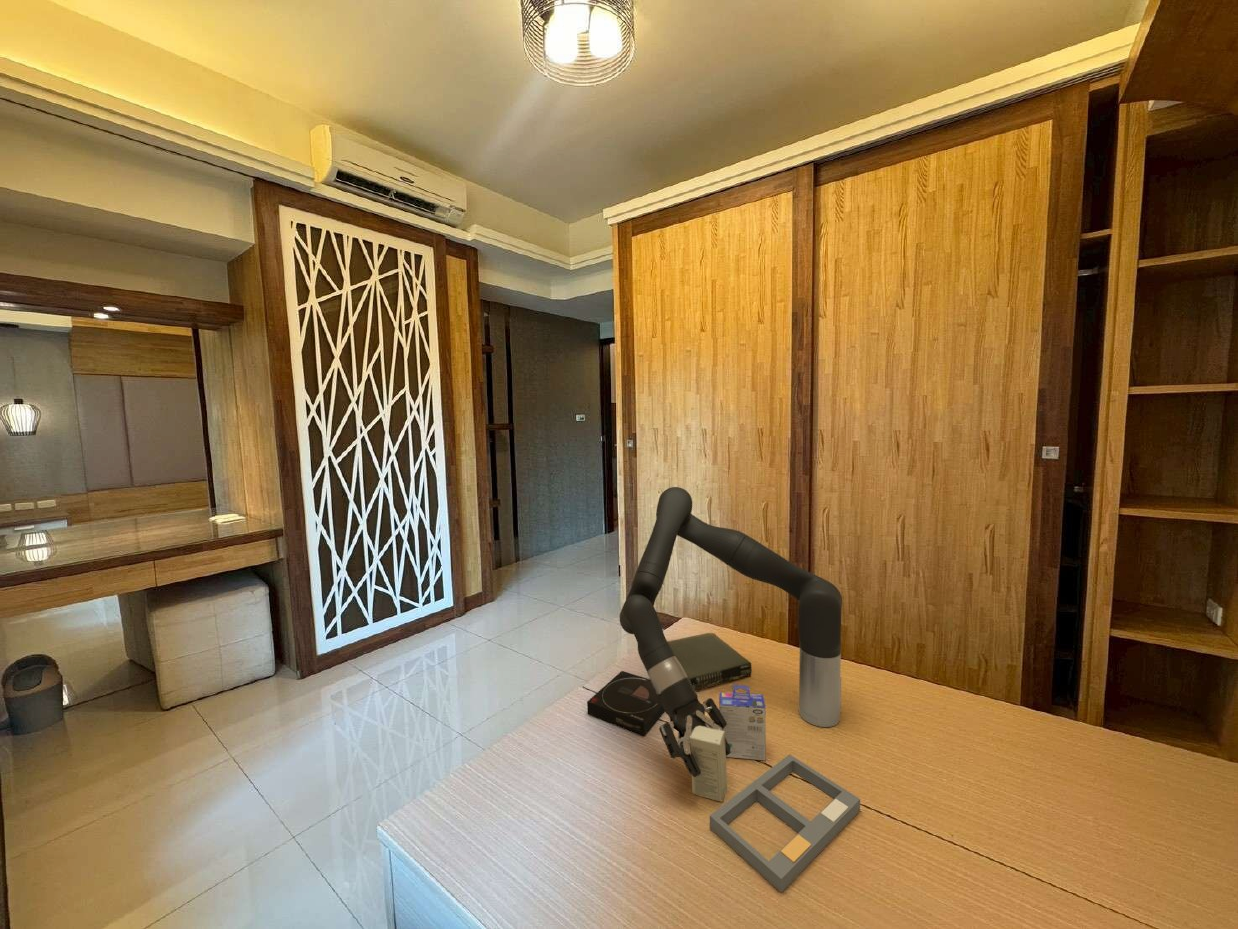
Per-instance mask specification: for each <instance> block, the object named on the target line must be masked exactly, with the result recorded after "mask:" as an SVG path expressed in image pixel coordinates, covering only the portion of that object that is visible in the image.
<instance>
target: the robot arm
mask: <svg viewBox="0 0 1238 929" xmlns="http://www.w3.org/2000/svg"><path fill="white" fill-rule="evenodd" d="M692 511H693V498H692V496H691V494H690V493H689V492H688V491H687V490H686V489H685V488H683V487H680V486H679V487H678V486H672V487H669V488H667V489H665V490H664V491H663V492H662V493H661V494H660V496H659V498H658V501H657V505H656V511H655V512H656V513H655V516H656V519H655V523H654V524H653V525H654V526H653V529H652V532H651V534H650V537H649V539H648V542H647V544H646V546H645V549H644V551H643V554H642V556H641V559H640V561H639V564H638V565H637V566H638V567H637V568H636V571H635V574H634V576H633V580H632V585H631V587H630V590H629V592H628V594H627V596H626V598H625V601H624V603H623V606H622V608H621V610H620V614H619V623H620V626H621V629H622V630H623V631H625V632H626V633H628V634H630V635H634V637H635V639H636V644H637V653H638V656H639V658H640V661H641V662H642V664H643V666H644V668H645V670H646V673H647V675H648V677H649V678H648V679H650V681H651V683H652V685H653V687H654V689H655V692H656V694H657V696H658V698H659V700H660V702H661V704H662V706H663V708H664V710H665V713H666V715H667V716H668V717H669V720H670V721H669V722H664V723H663V724H662V725H660V726H659V728H658V729H659V732H660V734H661V737H662V739H663V742H664V744H665V746H666V748H667V751H668V753H669V756H670V758H672V759H675V758H681V759H682V761H683V763H684V765H685V767H686V770H687V771H688V773H689V774H690V776H692V775H693V777H696V776H698V775H700V774H701V770H700V768H699V766H698V764H697V762H696V760H695V758H694V756H693V754H692V753H691V754H690V735H691V733H692V731H693V730H694V728H695V727H697V726H704V727H709V728H713V729H718V730H722V731H723V729H724V727H725V726H726V725H727V723H726V721H725V719H724V717H723V716H722V714H721V712H720V711H719V708H718V706H717V704H716V703H715V701H714V699H713V698H711V697H709V698H707V699H706V700H705V701H703V702H702V703H701V702H700V700H699V697H698V693H697V690H694V688H693V686H692V684H691V682H690V680H689V678H688V676H687V675H686V673H685V671H684V669H683V667H682V665H681V664H680V662H679V661H678V660H677V658H676V656H675V655H674V653H673V651H672V649H671V647H670V645H669V643H668V642H667V641H668V640H667V638H666V637H665V633H664V630H663V627H662V623H661V621H660V619H659V616H658V613H657V610H656V608H655V607H654V606H655V602H656V599H657V597H658V595H659V594H660V592H661V590H662V587H663V585H664V581H665V578H666V576H667V573H668V569H669V566H670V562H671V557H672V554H673V550H674V546H675V543H676V539H677V537H680V538H682V539H684V540H686V541H687V542H690V543H691V544H694V545H695V546H697V547H698V548H700V549H702V550H703V551H705V552H707V553H708V554H710V555H711V556H713V557H715V558H716V559H718V560H720V561H721V562H722V563H723V564H725V565H727V566H728V567H730V568H731V569H733V570H735V571H736V572H738V573H739V574H741V575H742V576H745V577H746V578H749V579H751V580H756V581H759V582H762V583H765V584H769V585H772V586H774V587H777V588H778V589H781V590H783V591H784V592H786V593H788V594H789V595H791V596H792V597H793V598H794V599H796V600H797V601H798V606H797V607H798V609H797V613H798V614H797V617H798V622H797V624H798V629H797V630H798V632H797V634H798V639H799V658H798V659H799V663H798V664H799V666H798V667H799V668H798V669H799V675H798V676H799V677H798V678H799V679H798V680H799V682H798V683H799V684H798V685H799V687H798V691H799V692H798V712H799V715H800V717H801V718H802V719H803V720H804V721H805V722H807V723H809V724H811V725H814V726H816V727H821V728H831V727H834V726H836V725H838V724H839V722H840V719H841V718H840V717H841V714H842V712H841V711H842V677H841V672H842V671H841V667H842V665H841V663H842V659H841V658H842V656H841V655H842V609H843V608H842V607H843V597H842V594H841V592H840V591H839V589H838V588H837V587H836V585H834V584H833V583H831V582H830V581H828V580H826V579H825V578H822V577H820V576H819V575H816V574H814V573H812V572H810V571H809V570H805V569H804V568H801V567H799V566H797V565H795V564H794V563H792V562H790V561H789V560H787V559H786V558H784V557H783V556H781V555H780V554H778V553H776V552H775V551H774V550H772V549H770V548H769V547H766V546H765V545H764V544H762V543H761V542H759V541H758V540H756V539H755V538H752V537H751V536H749V535H747V534H746V533H744V532H741V531H739V530H736V529H733V528H727V527H722V526H721V527H720V526H716V525H715V526H714V525H711V524H708V523H707V522H704V521H703V520H702V519H699V517H698V516H697V517H696V516H695V515H694V514H692ZM706 714H707V715H708V716H707V715H706ZM675 731H677V738H676V735H675ZM725 751H726V756H727V755H729V754H730V753H731V751H730V746H729V744H728V742H727V740H726V738H725Z"/></svg>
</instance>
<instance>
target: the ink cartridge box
mask: <svg viewBox="0 0 1238 929" xmlns="http://www.w3.org/2000/svg"><path fill="white" fill-rule="evenodd" d="M737 690H744V691H746V692H736V691H737ZM718 695H719V699H718V700H719V701H718V702H719V703H718V707H719V708H718V709H719V711H720V712H721V714H722V716H723V717H724V719H725V721H726V723H727V725H726V726H725V727H724V729H723V731H724V732H725V738H726V740H727V742H728V744H729V746H730V751H731V753H730V754H729V755H727V756H726V758H732V759H733V758H736V759H744V760H745V759H746V760H753V761H754V760H757V761H766V760H767V759H766V758H767V757H766V751H767V750H766V749H767V748H766V743H767V742H766V739H767V738H766V736H767V735H766V731H767V730H766V729H767V728H766V726H767V724H766V718H767V717H766V715H767V714H766V708H767V707H766V703H765V699H764V698H765V697H764V695H763V693H762V694H761V693H760V694H759V693H751V691H750V685H739V684H732V692H723V691H722V692H721V691H720V692H719V694H718Z"/></svg>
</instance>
